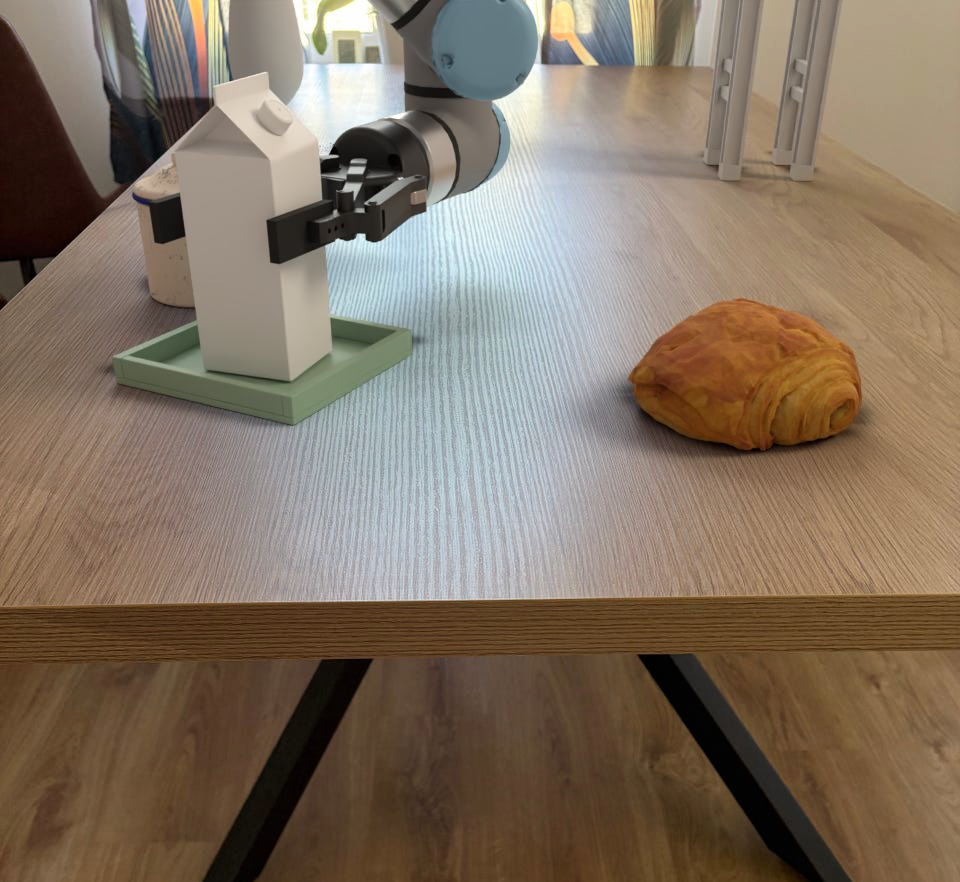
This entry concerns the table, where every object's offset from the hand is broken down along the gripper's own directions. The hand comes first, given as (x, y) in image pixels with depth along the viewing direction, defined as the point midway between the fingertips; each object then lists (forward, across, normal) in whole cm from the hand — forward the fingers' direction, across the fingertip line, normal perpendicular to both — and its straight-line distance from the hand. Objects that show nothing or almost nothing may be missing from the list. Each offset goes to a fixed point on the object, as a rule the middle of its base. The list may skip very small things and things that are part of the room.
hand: (212, 232), depth 74 cm
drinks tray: (-5, 0, -11) cm, 12 cm away
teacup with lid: (-18, +17, -11) cm, 27 cm away
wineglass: (-46, +29, -11) cm, 55 cm away
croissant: (-14, -33, -11) cm, 37 cm away
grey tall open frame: (-92, -12, -11) cm, 93 cm away
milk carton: (-5, 0, -10) cm, 11 cm away
